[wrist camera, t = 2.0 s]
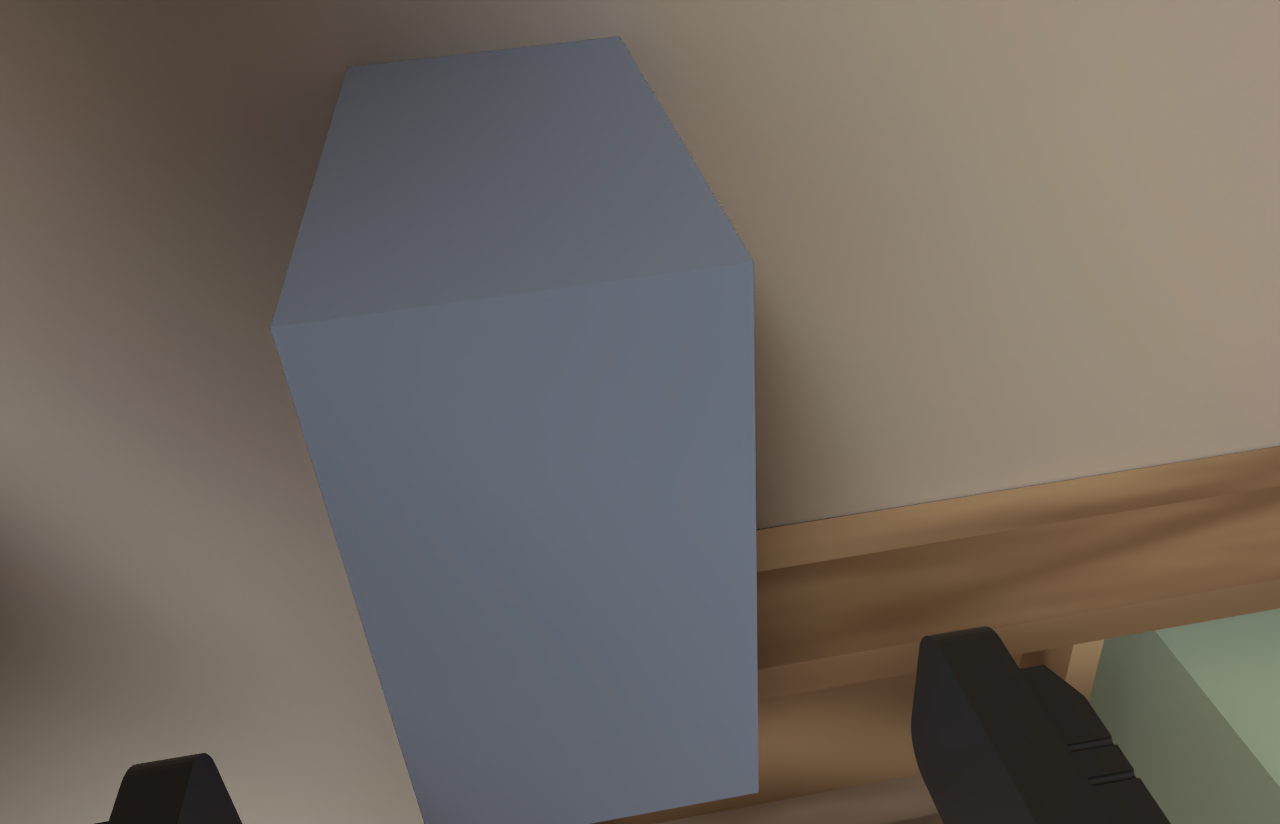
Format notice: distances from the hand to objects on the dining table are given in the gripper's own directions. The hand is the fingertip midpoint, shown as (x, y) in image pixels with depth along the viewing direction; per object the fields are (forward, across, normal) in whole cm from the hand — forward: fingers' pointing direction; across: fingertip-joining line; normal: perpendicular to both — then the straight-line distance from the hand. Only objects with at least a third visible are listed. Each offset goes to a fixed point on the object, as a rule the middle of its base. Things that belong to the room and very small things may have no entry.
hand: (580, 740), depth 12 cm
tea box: (+12, 0, 0) cm, 12 cm away
